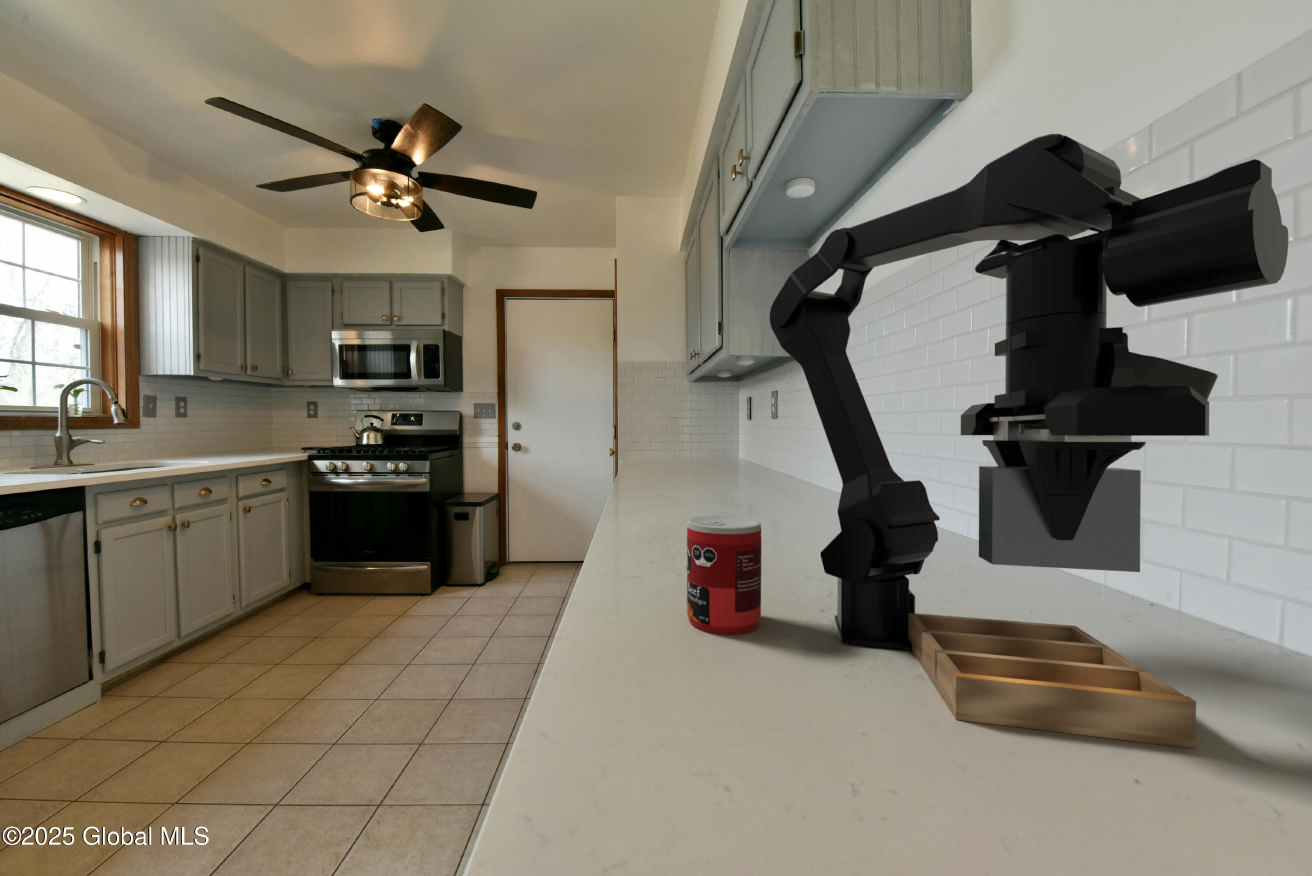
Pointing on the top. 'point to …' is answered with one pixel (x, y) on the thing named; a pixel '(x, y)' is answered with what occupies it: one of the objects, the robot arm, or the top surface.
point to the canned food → (724, 574)
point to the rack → (1047, 680)
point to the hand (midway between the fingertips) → (1052, 535)
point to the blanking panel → (1026, 540)
